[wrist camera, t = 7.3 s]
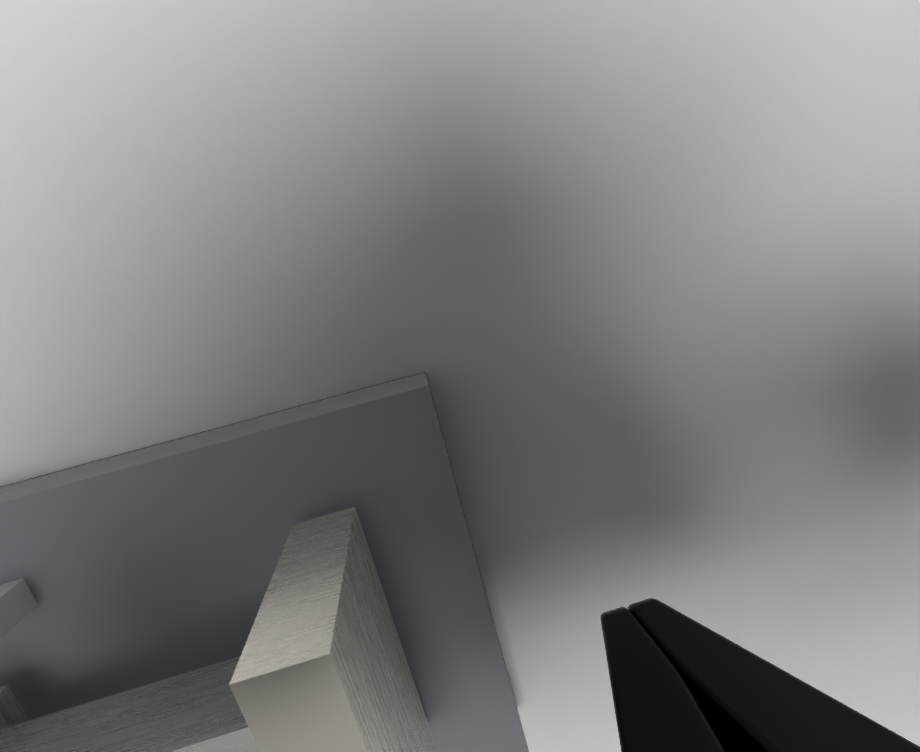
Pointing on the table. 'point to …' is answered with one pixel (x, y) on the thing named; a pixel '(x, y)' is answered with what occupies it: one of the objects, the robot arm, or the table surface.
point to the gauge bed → (248, 558)
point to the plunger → (269, 673)
